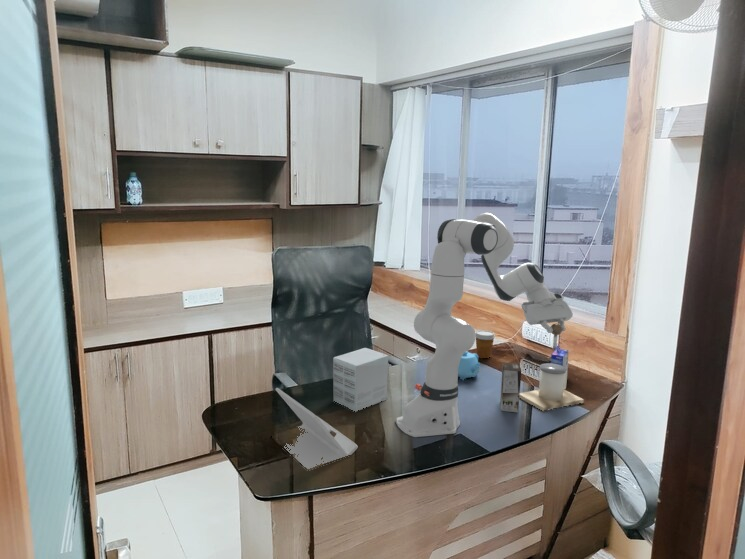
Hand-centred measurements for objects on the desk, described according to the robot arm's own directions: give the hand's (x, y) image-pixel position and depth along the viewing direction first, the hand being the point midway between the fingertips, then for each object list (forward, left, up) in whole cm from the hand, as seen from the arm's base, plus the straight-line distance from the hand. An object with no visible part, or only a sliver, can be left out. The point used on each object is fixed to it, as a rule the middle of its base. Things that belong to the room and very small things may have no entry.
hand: (557, 331), depth 196 cm
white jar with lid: (0, +1, -26) cm, 27 cm away
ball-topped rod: (0, +1, -7) cm, 7 cm away
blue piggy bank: (-18, +35, -28) cm, 48 cm away
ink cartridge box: (+19, +17, -28) cm, 38 cm away
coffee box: (-19, +2, -28) cm, 34 cm away
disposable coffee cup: (+6, +53, -28) cm, 60 cm away
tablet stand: (-96, +2, -28) cm, 100 cm away
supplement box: (-69, +28, -28) cm, 79 cm away
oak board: (0, +1, -28) cm, 28 cm away
